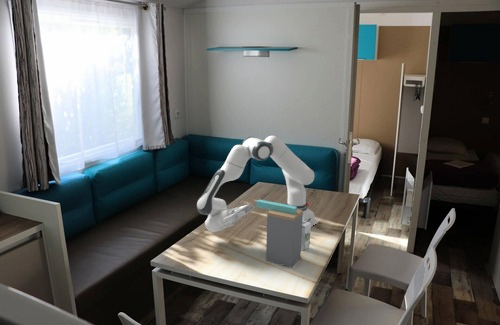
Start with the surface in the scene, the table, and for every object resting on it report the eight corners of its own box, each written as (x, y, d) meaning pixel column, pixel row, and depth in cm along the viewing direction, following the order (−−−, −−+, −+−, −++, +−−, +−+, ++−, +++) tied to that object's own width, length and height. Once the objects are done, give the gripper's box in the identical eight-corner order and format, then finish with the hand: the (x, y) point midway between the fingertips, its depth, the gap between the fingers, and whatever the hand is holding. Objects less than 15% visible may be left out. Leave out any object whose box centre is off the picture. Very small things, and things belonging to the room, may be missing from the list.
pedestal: (266, 260, 217) (267, 212, 210) (276, 251, 227) (277, 205, 221) (291, 267, 210) (293, 218, 204) (300, 257, 221) (302, 210, 214)
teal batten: (256, 206, 218) (256, 201, 217) (259, 204, 221) (259, 199, 220) (294, 214, 208) (294, 208, 208) (296, 212, 211) (296, 206, 210)
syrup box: (300, 244, 236) (301, 220, 232) (309, 247, 232) (311, 222, 228) (294, 248, 231) (296, 223, 228) (304, 251, 228) (305, 226, 224)
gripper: (216, 218, 221) (236, 210, 214) (236, 206, 238) (255, 198, 231) (222, 229, 221) (242, 221, 213) (241, 216, 238) (261, 208, 231)
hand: (249, 209), depth 222 cm, fingers open, 8 cm apart
